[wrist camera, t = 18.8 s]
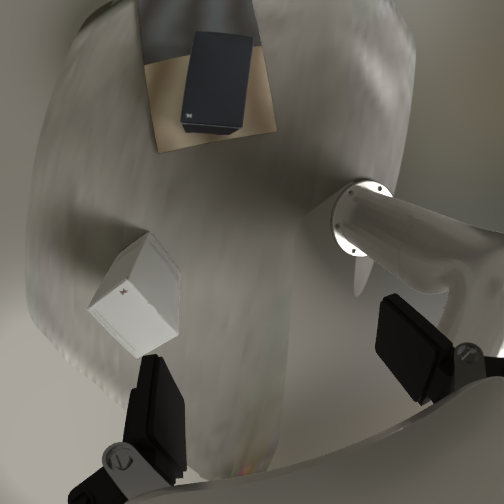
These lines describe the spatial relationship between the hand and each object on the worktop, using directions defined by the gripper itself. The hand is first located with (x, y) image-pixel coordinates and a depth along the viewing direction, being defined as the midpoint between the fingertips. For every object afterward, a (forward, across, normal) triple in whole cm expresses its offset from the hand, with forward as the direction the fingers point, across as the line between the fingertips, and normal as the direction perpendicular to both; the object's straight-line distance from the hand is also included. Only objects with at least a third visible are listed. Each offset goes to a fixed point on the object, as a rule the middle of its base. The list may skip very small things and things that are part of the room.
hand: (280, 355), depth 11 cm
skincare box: (+31, +12, +6) cm, 33 cm away
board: (+30, -1, -22) cm, 37 cm away
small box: (+30, -1, -15) cm, 33 cm away
